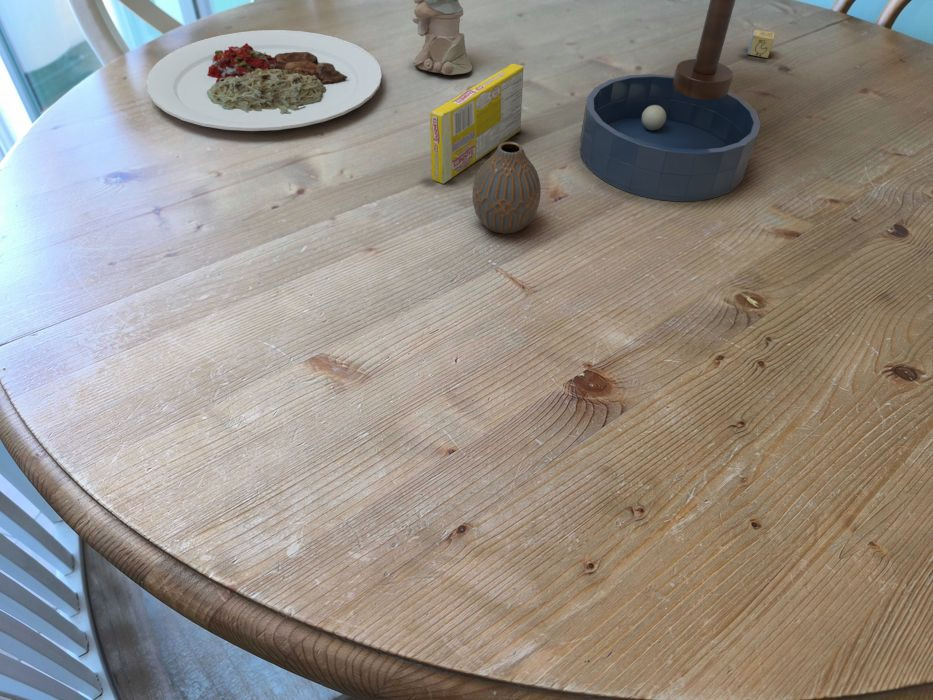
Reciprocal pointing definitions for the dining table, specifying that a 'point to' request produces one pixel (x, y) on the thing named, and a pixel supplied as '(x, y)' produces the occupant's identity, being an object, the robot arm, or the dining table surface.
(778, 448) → the dining table surface
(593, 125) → the bowl
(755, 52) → the alphabet block
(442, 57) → the figurine
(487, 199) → the vase
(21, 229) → the dining table surface
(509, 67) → the candy box
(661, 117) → the dough ball
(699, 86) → the wooden joystick
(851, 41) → the dining table surface
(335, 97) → the plated food
